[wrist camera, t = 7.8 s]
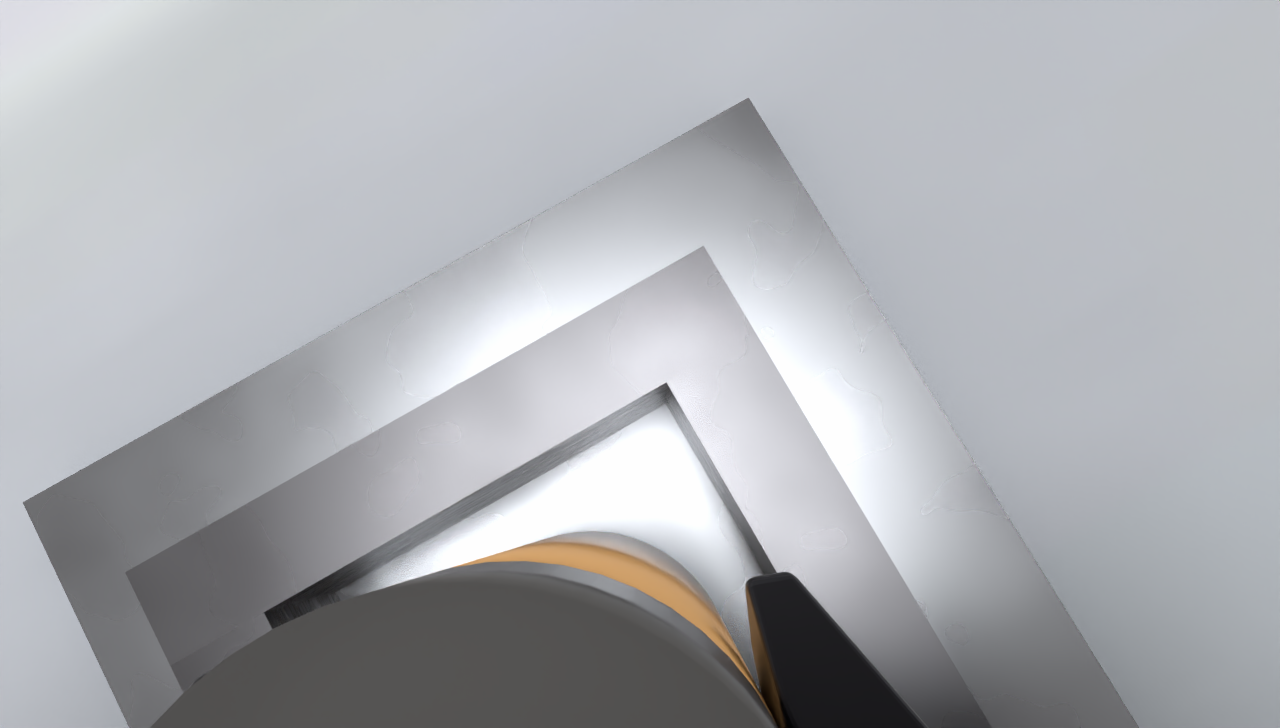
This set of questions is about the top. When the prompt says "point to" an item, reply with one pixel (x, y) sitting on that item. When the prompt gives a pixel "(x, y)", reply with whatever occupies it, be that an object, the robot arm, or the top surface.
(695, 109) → the top surface
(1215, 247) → the top surface
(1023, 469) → the top surface
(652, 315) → the grey square socket
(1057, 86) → the top surface
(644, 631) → the grey-capped orange cylinder
